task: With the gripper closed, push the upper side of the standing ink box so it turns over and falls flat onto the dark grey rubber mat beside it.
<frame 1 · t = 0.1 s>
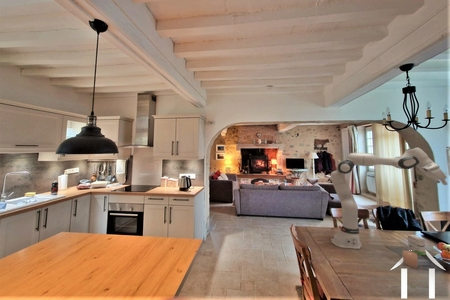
hand: (442, 183, 125), 54 cm above the table, tool tilted 30°, fingers open, 8 cm apart
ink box: (417, 252, 135), on the table
brown rounded lump: (410, 264, 120), on the table
mat: (404, 252, 136), on the table
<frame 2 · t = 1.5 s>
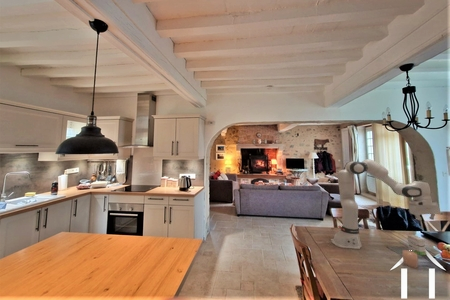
hand: (425, 219, 135), 25 cm above the table, tool pointing down, fingers open, 8 cm apart
nothing on the table moved.
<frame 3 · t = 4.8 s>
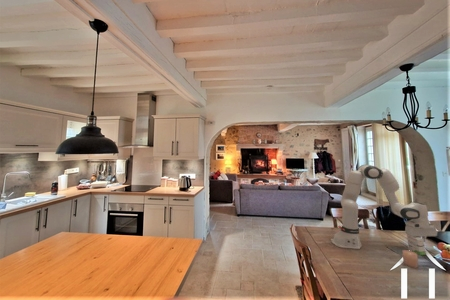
hand: (421, 241, 136), 8 cm above the table, tool pointing down, fingers closed
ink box: (417, 252, 135), on the table, touching gripper
everything else where it was.
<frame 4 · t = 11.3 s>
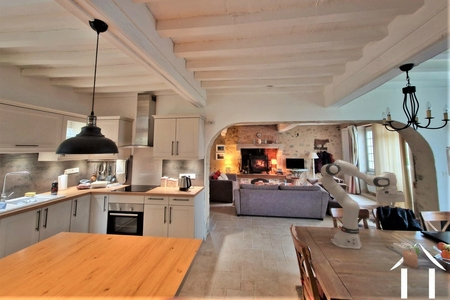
hand: (391, 207, 149), 31 cm above the table, tool pointing down, fingers closed
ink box: (413, 248, 136), point 3 cm above the table, touching mat
everything else where it was.
at the end: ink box tilted 90°; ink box inside the target area (6.4 cm from its centre), point 2.8 cm above the table; the gripper is holding nothing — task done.
